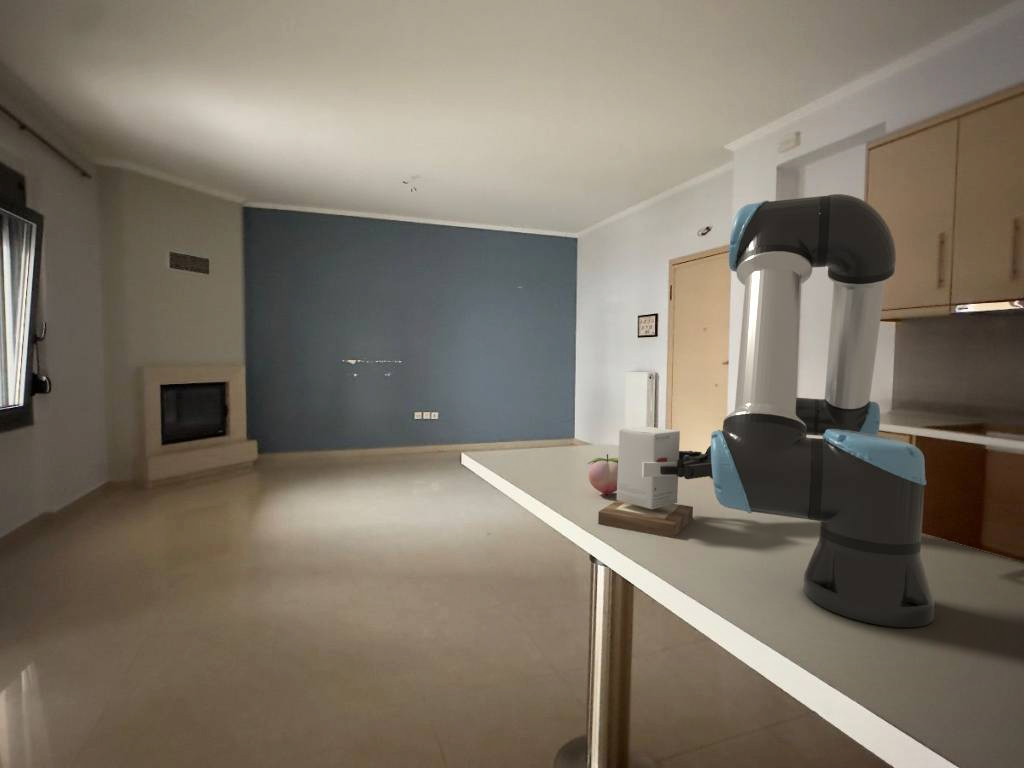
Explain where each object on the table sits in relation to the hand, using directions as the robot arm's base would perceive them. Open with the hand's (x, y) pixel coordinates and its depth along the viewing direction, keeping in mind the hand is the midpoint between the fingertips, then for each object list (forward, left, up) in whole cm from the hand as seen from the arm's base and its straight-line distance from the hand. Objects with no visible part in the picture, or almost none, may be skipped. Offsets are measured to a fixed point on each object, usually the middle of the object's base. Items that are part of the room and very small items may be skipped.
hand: (630, 463), depth 111 cm
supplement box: (+2, -3, -8) cm, 9 cm away
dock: (+2, -3, -12) cm, 13 cm away
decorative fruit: (+18, +12, -12) cm, 25 cm away
